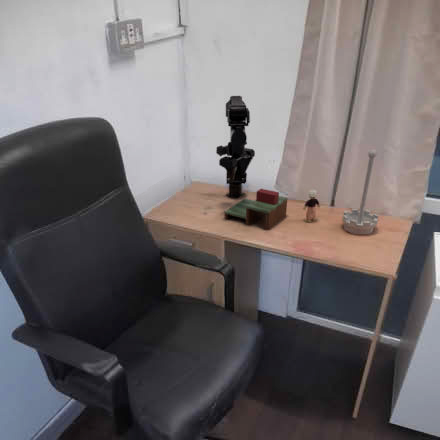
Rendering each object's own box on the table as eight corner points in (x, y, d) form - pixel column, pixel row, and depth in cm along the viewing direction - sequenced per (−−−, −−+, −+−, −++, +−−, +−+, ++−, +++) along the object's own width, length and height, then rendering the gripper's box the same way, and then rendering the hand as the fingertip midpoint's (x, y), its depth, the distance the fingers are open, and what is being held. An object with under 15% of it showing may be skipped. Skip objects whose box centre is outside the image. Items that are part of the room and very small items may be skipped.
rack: (244, 206, 182) (244, 188, 177) (286, 216, 173) (287, 197, 168) (224, 219, 171) (224, 200, 166) (268, 230, 162) (269, 211, 157)
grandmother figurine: (312, 216, 172) (316, 186, 165) (319, 219, 169) (323, 189, 162) (299, 221, 168) (302, 190, 161) (306, 224, 166) (309, 193, 159)
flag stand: (375, 237, 156) (393, 156, 139) (340, 233, 159) (353, 153, 142) (375, 223, 166) (392, 146, 149) (342, 219, 169) (354, 143, 152)
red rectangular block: (260, 198, 168) (260, 188, 166) (278, 202, 164) (279, 192, 162) (256, 201, 166) (256, 191, 163) (274, 205, 162) (274, 195, 160)
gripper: (232, 131, 175) (232, 169, 184) (207, 142, 162) (208, 181, 171) (256, 135, 170) (254, 173, 178) (231, 145, 157) (231, 186, 166)
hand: (237, 178), depth 173 cm, fingers open, 9 cm apart
